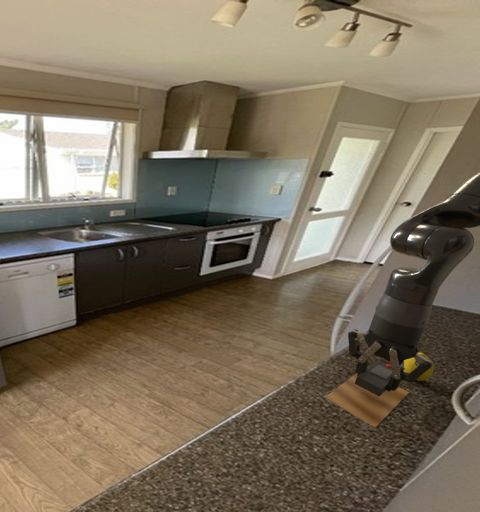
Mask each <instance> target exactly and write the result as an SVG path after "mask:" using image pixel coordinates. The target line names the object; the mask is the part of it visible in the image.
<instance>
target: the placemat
mask: <svg viewBox="0 0 480 512" xmlns="http://www.w3.org/2000/svg"><path fill="white" fill-rule="evenodd" d="M357 374H358V373H356V372H355V373H354V374H353V375H352V376H350V377H349V378H348V379H347V380H346V381H344V382H343V383H341V384H340V385H339V386H338V387H336V388H334V390H332V391H331V392H330V393H329V394H327V395H326V396H325V397H324V398H325V399H327V400H328V401H330V402H332V403H333V404H334V405H336V406H339V408H341V409H343V410H345V411H346V412H347V413H350V415H351V414H352V415H353V416H355V417H356V418H358V419H360V420H361V421H363V422H365V423H366V424H368V425H370V426H372V427H373V428H375V429H376V428H377V427H378V426H379V425H380V424H381V423H382V422H383V421H384V420H385V419H386V418H387V417H388V415H390V413H391V412H393V410H394V409H395V408H397V406H398V405H399V404H400V403H401V402H402V401H403V400H404V399H405V398H406V397H407V395H409V393H410V391H408V390H406V389H404V388H402V387H400V386H399V387H398V388H397V389H396V390H395V391H392V390H391V391H390V392H389V391H387V390H386V391H385V392H384V393H383V394H382V395H381V396H377V395H375V394H373V393H371V392H369V391H368V390H366V389H364V388H362V387H360V386H358V385H356V384H355V381H356V378H357Z"/></svg>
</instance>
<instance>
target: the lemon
mask: <svg viewBox="0 0 480 512" xmlns="http://www.w3.org/2000/svg"><path fill="white" fill-rule="evenodd" d="M418 354H420V355H422V356H423V357H425V358H427V359H428V358H430V357H429V356H428V355H427V354H425V353H424V352H418ZM415 361H416V360H415V358H410V359H407V360H404V368H405V370H404V372H406V373H410V372H412V371H413V370H414V369H415V368H416V367H418V366H416V365H415ZM434 370H435V364H434V365H433V366H432V367H431V368H430V369H428V370H427V371H426V372H425V373H423V374H422V375H421V376H420V377H418V378H417V379H416V380H415V381H416V382H417V381H419V382H422V381H426V380H428V379H429V378H431V376H433V374H434Z"/></svg>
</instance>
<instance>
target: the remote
mask: <svg viewBox="0 0 480 512" xmlns="http://www.w3.org/2000/svg"><path fill="white" fill-rule="evenodd" d="M404 370H405V368H404ZM391 376H392V368H391V364H390V361H387V360H386V359H384V358H382V357H379V359H377V360H376V361H375V362H374V363H372V364H371V365H370V366H368V367H367V369H366V370H365V371H364V372H363V373H361V374H360V375H359V376H357V378H356V381H355V384H356V385H358V386H360V387H362V388H364V389H366V390H368V391H369V392H371V393H373V394H375V395H377V396H381V395H382V394H383V393H384V392H385V391H386V387H387V384H388V382H389V379H390V377H391Z"/></svg>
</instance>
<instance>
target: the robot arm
mask: <svg viewBox="0 0 480 512" xmlns="http://www.w3.org/2000/svg"><path fill="white" fill-rule="evenodd" d="M479 227H480V171H478V172H476V173H475V174H473V175H471V176H470V177H468V178H467V179H465V180H464V181H462V183H461V184H459V185H458V186H457V187H456V188H455V189H454V190H452V192H450V193H449V194H448V195H447V196H445V198H444V199H442V201H440V202H438V203H436V204H434V205H432V206H430V207H427V208H426V209H424V210H422V211H421V212H418V213H417V214H415V215H413V216H411V217H409V218H408V219H406V220H404V221H403V222H401V224H399V225H398V226H397V227H396V228H395V229H394V230H393V231H392V234H391V236H390V238H389V239H390V240H389V244H390V247H391V249H392V250H393V251H395V252H396V253H398V254H401V255H404V256H408V257H412V258H416V259H420V260H424V261H426V263H425V265H424V266H422V267H421V268H418V267H411V266H400V267H396V268H394V269H393V270H392V271H391V272H390V274H389V277H388V279H387V283H386V285H385V289H384V291H383V293H382V295H381V297H380V298H379V301H378V303H377V305H376V306H375V311H374V313H373V317H372V319H371V322H370V325H369V328H368V329H367V330H366V331H365V332H363V331H359V330H358V329H355V328H354V329H352V330H349V332H348V333H347V337H348V340H347V341H348V353H349V356H351V357H354V358H355V359H357V363H356V367H355V369H354V371H355V374H356V373H358V374H357V376H359V375H360V374H361V373H363V372H364V371H365V370H366V369H367V368H369V364H370V361H369V360H370V359H371V358H372V357H373V356H376V357H379V358H384V359H386V360H387V361H390V364H391V368H392V376H391V377H390V379H389V382H388V384H387V387H386V390H387V391H389V392H390V391H391V390H392V391H395V390H396V389H397V388H398V387H400V384H401V382H402V381H406V382H408V383H413V382H415V381H417V380H416V379H417V378H418V377H420V376H421V375H422V374H423V373H425V372H426V371H427V370H428V369H430V368H431V367H432V366H433V365H434V366H435V364H436V361H435V360H434V359H432V358H430V357H429V358H428V359H427V358H425V357H423V356H422V355H420V354H418V353H419V350H418V345H419V342H420V340H421V338H422V335H423V333H424V330H425V328H426V326H427V324H428V321H429V319H430V317H431V313H432V308H433V305H434V304H435V303H434V302H435V300H436V298H437V296H438V293H439V291H440V288H441V286H442V285H443V284H444V282H445V281H446V280H447V279H448V278H449V276H450V275H451V274H452V273H453V272H454V271H455V270H456V269H457V268H458V267H459V266H460V265H461V264H462V263H463V262H464V261H465V260H466V259H467V258H468V257H469V256H470V254H472V251H473V250H474V248H475V242H476V241H475V237H474V235H473V233H472V232H471V231H470V229H473V228H479ZM468 229H469V230H468ZM363 339H364V341H365V344H366V346H367V347H368V349H366V351H365V352H361V340H363ZM410 358H415V360H416V361H415V365H416V366H418V367H416V368H415V369H414V370H413V371H412V372H410V373H406V372H404V360H407V359H410Z"/></svg>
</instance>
